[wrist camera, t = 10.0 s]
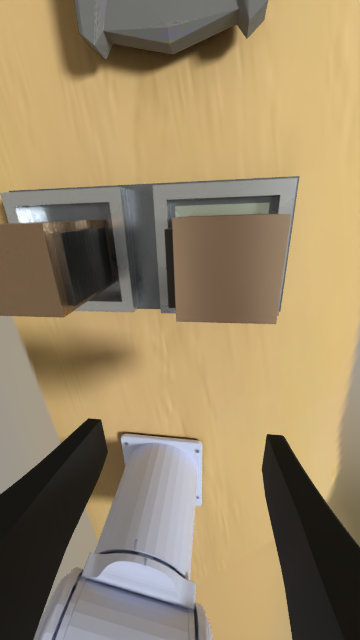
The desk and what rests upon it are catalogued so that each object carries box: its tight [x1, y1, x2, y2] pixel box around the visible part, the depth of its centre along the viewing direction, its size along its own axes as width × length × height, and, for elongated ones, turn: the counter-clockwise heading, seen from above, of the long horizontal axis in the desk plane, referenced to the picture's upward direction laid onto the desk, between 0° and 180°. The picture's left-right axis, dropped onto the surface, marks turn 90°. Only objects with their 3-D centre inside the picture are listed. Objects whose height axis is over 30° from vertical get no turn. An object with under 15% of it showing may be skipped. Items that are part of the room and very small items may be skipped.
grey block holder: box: [0, 176, 299, 317], centre depth 13 cm, size 8×17×8 cm, turn 92°
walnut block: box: [164, 214, 291, 324], centre depth 12 cm, size 4×4×6 cm
